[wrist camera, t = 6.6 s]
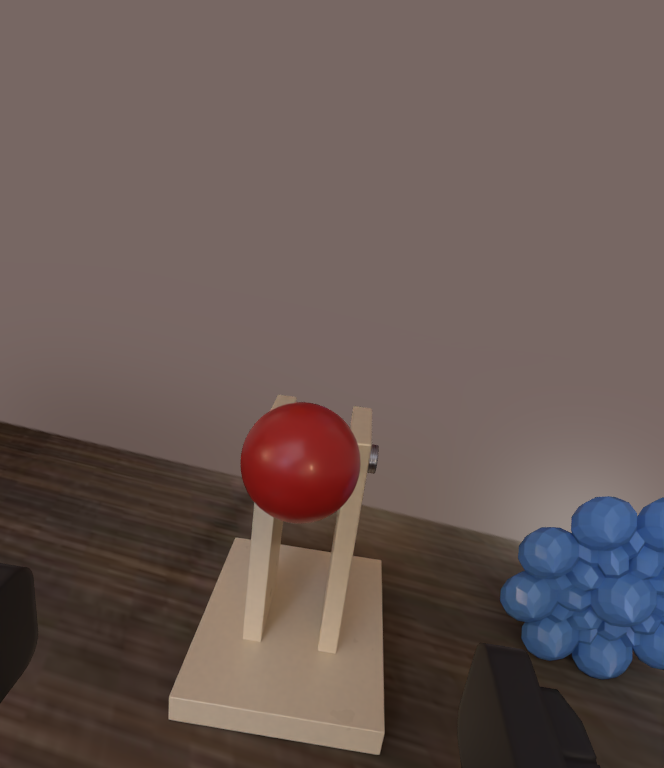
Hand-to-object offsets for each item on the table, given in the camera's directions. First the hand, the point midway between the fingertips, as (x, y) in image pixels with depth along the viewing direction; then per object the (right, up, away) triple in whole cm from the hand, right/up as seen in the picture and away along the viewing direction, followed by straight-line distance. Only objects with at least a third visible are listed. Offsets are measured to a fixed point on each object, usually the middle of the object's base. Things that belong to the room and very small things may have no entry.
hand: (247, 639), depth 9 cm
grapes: (+17, -12, +22) cm, 30 cm away
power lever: (0, 0, +11) cm, 11 cm away
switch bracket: (-1, -10, +20) cm, 23 cm away
